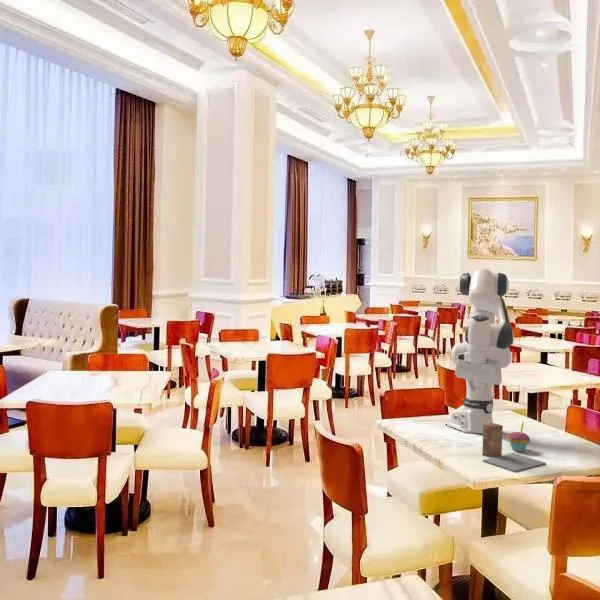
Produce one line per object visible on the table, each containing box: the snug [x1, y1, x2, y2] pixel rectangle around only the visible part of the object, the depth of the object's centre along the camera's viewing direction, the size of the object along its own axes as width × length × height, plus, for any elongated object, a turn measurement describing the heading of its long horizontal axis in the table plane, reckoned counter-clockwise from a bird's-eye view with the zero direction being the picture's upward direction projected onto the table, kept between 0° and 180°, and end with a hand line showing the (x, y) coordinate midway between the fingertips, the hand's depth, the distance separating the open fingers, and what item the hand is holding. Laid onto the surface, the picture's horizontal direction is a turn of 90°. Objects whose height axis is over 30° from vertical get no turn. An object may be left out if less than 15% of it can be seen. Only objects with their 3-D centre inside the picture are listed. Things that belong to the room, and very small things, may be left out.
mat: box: [482, 452, 547, 473], centre depth 224 cm, size 14×18×1 cm
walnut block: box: [482, 422, 504, 458], centre depth 233 cm, size 5×5×12 cm
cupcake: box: [506, 420, 531, 452], centre depth 241 cm, size 9×8×12 cm
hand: (477, 392), depth 238 cm, fingers open, 3 cm apart
